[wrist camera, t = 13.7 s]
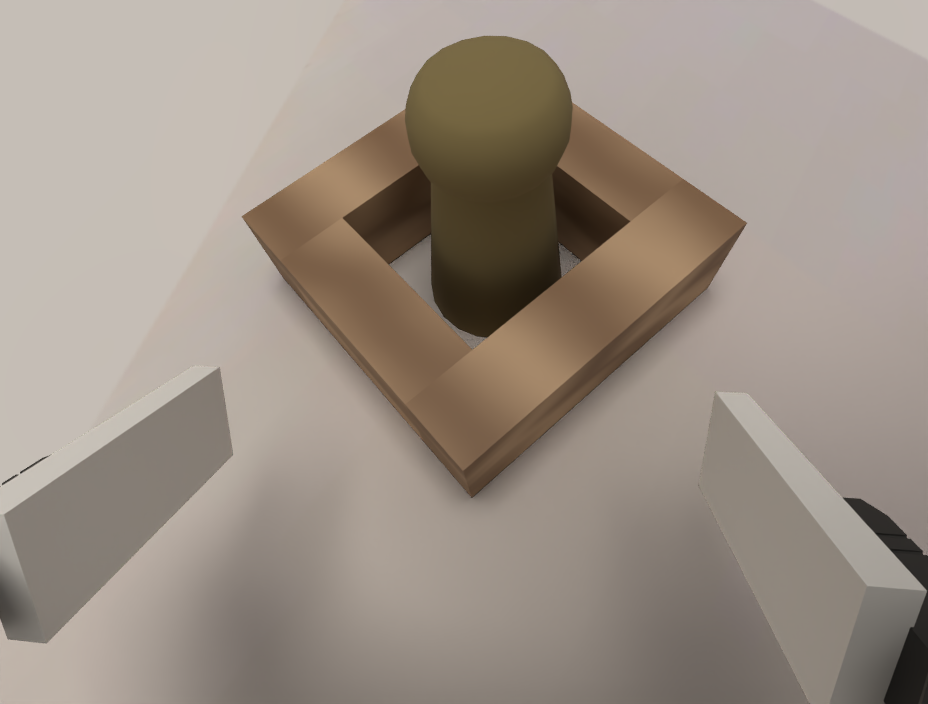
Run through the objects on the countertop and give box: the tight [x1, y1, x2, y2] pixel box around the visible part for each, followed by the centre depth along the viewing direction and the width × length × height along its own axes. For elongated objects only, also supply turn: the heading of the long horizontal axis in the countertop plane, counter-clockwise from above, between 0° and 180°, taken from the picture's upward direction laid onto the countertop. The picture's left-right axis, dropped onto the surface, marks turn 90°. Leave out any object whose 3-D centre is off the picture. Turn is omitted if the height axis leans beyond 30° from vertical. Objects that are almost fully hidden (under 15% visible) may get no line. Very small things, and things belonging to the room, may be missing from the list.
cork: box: [405, 36, 573, 337], centre depth 21 cm, size 6×6×11 cm
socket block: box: [242, 103, 747, 497], centre depth 24 cm, size 14×14×4 cm
